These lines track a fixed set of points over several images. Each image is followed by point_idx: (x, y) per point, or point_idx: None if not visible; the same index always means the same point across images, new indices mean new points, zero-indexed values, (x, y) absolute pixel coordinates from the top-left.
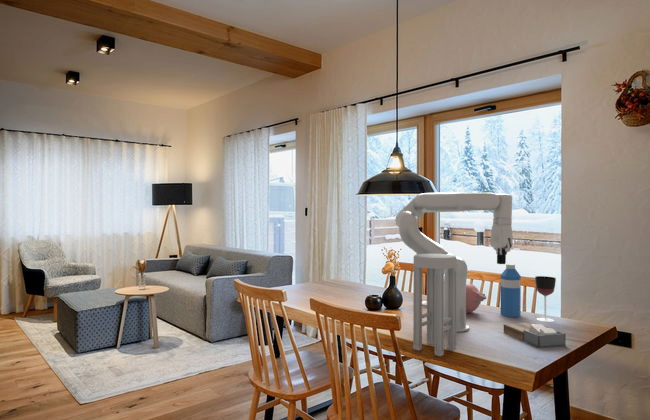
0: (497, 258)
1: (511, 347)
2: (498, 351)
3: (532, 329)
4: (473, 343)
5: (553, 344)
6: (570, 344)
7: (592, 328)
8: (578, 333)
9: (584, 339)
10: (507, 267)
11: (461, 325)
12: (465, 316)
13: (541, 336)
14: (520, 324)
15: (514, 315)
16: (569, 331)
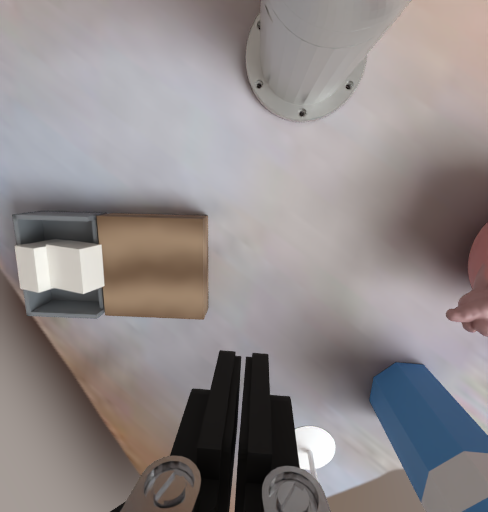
0: (258, 397)
1: (53, 128)
2: (19, 54)
3: (78, 245)
4: (110, 17)
5: None
6: (60, 323)
7: None
8: (152, 422)
9: (97, 392)
10: None
11: (260, 57)
12: (274, 75)
13: (15, 225)
14: (186, 276)
15: (374, 387)
16: (175, 415)
